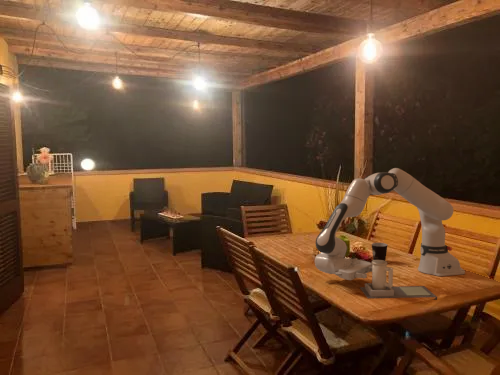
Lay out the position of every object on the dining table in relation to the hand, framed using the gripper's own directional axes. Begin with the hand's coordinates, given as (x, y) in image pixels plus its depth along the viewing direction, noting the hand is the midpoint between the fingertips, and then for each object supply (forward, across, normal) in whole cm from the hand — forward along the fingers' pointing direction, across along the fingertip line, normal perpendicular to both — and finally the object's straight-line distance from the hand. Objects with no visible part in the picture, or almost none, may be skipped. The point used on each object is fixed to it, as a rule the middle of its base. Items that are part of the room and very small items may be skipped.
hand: (371, 273), depth 192 cm
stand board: (+10, +6, +9) cm, 14 cm away
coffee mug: (-22, +49, +9) cm, 54 cm away
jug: (+5, 0, +8) cm, 9 cm away
